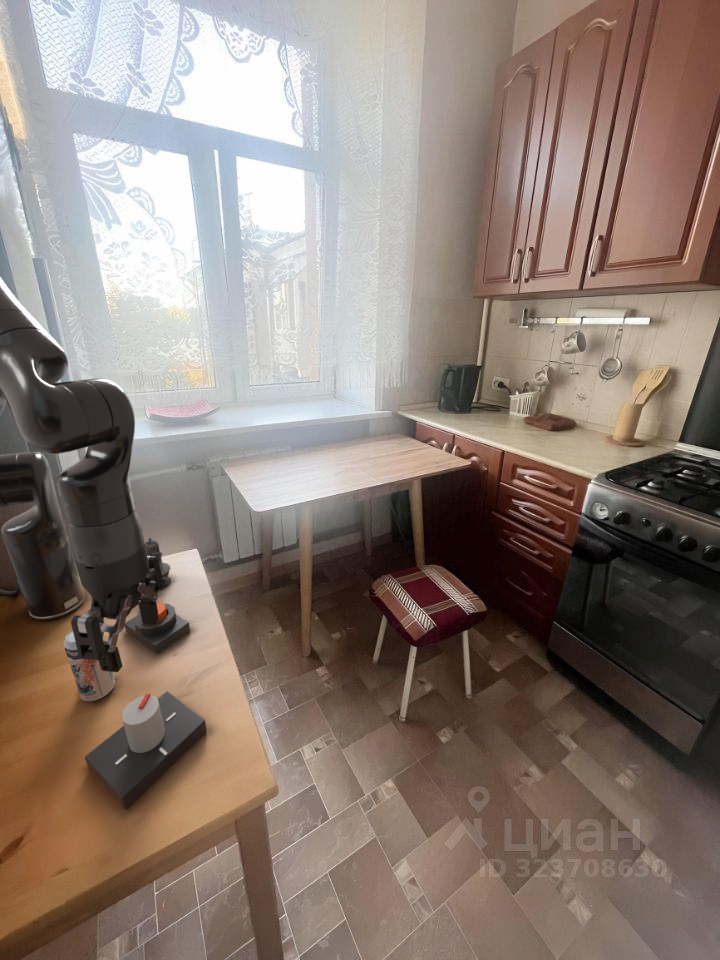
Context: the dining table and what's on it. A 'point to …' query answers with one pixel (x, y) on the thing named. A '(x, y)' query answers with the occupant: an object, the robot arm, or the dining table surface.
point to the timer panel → (145, 753)
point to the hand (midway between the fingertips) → (133, 644)
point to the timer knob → (143, 723)
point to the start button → (161, 611)
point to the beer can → (87, 673)
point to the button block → (158, 630)
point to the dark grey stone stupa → (153, 550)
